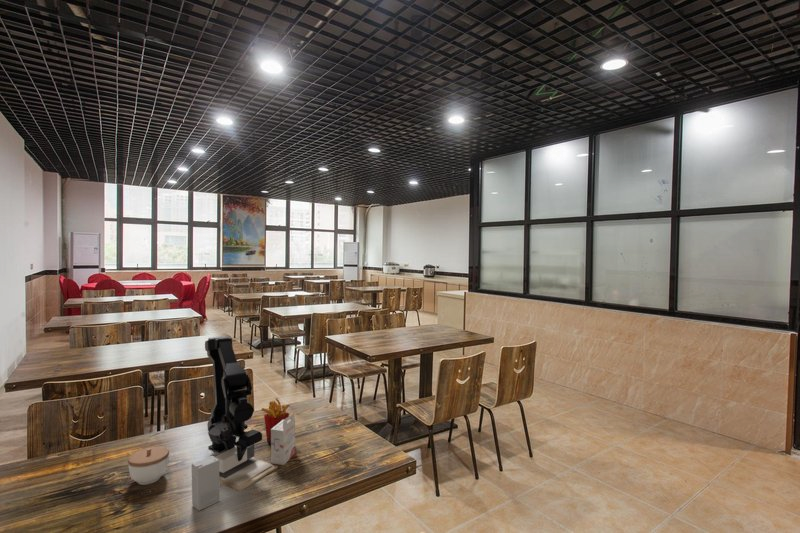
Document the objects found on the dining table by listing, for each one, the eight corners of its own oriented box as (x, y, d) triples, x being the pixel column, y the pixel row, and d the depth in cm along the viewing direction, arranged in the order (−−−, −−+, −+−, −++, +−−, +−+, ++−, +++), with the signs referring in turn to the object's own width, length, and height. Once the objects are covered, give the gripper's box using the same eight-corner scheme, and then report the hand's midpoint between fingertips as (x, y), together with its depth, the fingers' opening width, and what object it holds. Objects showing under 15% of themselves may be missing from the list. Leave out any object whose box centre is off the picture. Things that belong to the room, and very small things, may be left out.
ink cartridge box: (282, 451, 144) (282, 410, 144) (295, 453, 143) (295, 411, 143) (270, 464, 136) (270, 420, 136) (283, 465, 135) (284, 421, 135)
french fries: (289, 439, 154) (290, 399, 154) (272, 447, 147) (272, 406, 147) (273, 433, 159) (274, 395, 158) (256, 441, 152) (256, 401, 151)
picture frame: (196, 472, 130) (196, 469, 130) (235, 452, 143) (235, 450, 143) (239, 491, 120) (239, 487, 120) (277, 468, 133) (277, 465, 133)
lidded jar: (126, 492, 119) (125, 461, 119) (130, 474, 128) (130, 445, 128) (168, 483, 124) (168, 453, 123) (169, 467, 133) (169, 438, 133)
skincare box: (213, 495, 118) (212, 454, 118) (220, 502, 115) (220, 459, 115) (190, 505, 113) (190, 462, 113) (198, 512, 110) (197, 468, 110)
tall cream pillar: (214, 469, 128) (214, 456, 128) (246, 453, 138) (246, 441, 138) (223, 472, 126) (223, 460, 126) (254, 456, 136) (254, 444, 136)
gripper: (193, 413, 129) (193, 462, 130) (233, 426, 120) (233, 478, 121) (224, 402, 139) (224, 447, 139) (263, 413, 130) (263, 462, 130)
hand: (235, 458), depth 132 cm, fingers closed on tall cream pillar, 4 cm apart
